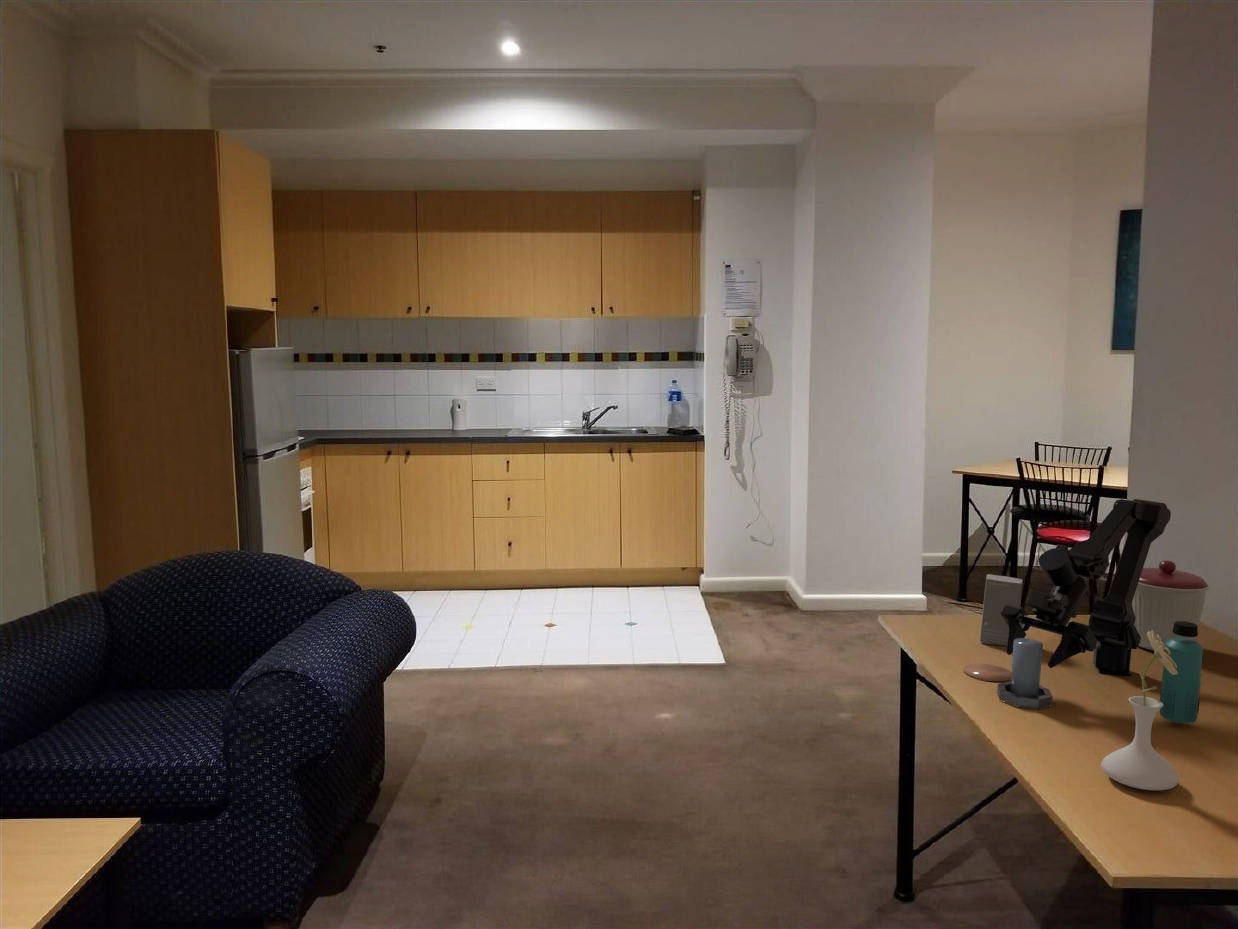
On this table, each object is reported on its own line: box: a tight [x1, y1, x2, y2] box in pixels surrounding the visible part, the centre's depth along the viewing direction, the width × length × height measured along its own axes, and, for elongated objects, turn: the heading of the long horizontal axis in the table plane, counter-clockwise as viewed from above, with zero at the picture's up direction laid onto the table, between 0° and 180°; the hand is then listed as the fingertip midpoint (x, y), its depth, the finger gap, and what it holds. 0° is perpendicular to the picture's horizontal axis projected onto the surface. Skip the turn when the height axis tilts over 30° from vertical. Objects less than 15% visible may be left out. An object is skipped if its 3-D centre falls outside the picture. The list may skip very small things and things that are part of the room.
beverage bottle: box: [1159, 621, 1204, 724], centre depth 183 cm, size 6×7×20 cm
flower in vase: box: [1100, 630, 1180, 791], centre depth 159 cm, size 13×11×25 cm
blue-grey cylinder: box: [1010, 637, 1044, 697], centre depth 195 cm, size 5×5×12 cm
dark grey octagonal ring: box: [996, 680, 1053, 710], centre depth 196 cm, size 10×10×2 cm
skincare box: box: [979, 573, 1023, 647], centre depth 232 cm, size 8×7×16 cm
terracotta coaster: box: [963, 663, 1012, 682], centre depth 210 cm, size 10×10×1 cm
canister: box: [1132, 559, 1211, 652], centre depth 230 cm, size 18×18×21 cm
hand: (1028, 660), depth 195 cm, fingers open, 9 cm apart
